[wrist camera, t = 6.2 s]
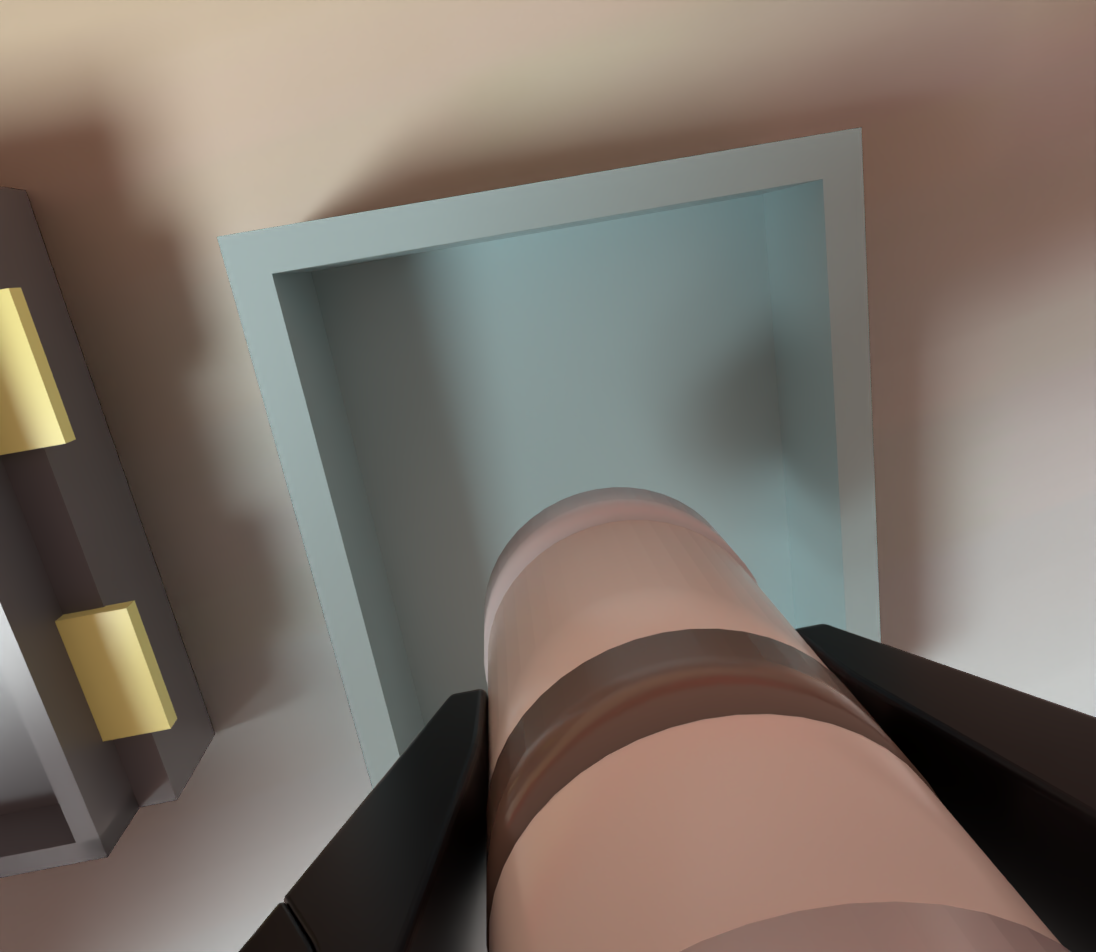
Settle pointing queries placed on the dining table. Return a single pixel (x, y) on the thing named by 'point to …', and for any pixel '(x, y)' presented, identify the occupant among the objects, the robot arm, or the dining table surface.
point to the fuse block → (75, 597)
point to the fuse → (699, 764)
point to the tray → (566, 392)
